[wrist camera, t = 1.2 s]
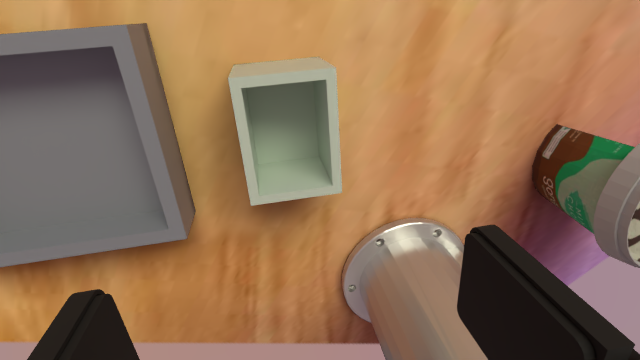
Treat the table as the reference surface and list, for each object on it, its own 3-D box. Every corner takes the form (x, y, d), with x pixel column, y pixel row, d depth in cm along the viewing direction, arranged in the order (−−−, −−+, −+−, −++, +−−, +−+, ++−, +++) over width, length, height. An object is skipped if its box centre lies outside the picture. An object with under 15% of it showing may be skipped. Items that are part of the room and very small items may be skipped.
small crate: (318, 56, 25) (335, 67, 20) (325, 159, 29) (342, 192, 23) (233, 64, 24) (228, 78, 19) (251, 169, 28) (251, 205, 22)
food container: (494, 166, 32) (589, 224, 23) (548, 113, 30) (671, 154, 21) (559, 231, 36) (658, 301, 28) (608, 189, 35) (728, 248, 26)
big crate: (146, 23, 22) (126, 24, 19) (195, 211, 28) (187, 238, 25) (-139, 45, 20) (-222, 51, 17) (-21, 241, 27) (-64, 276, 23)
